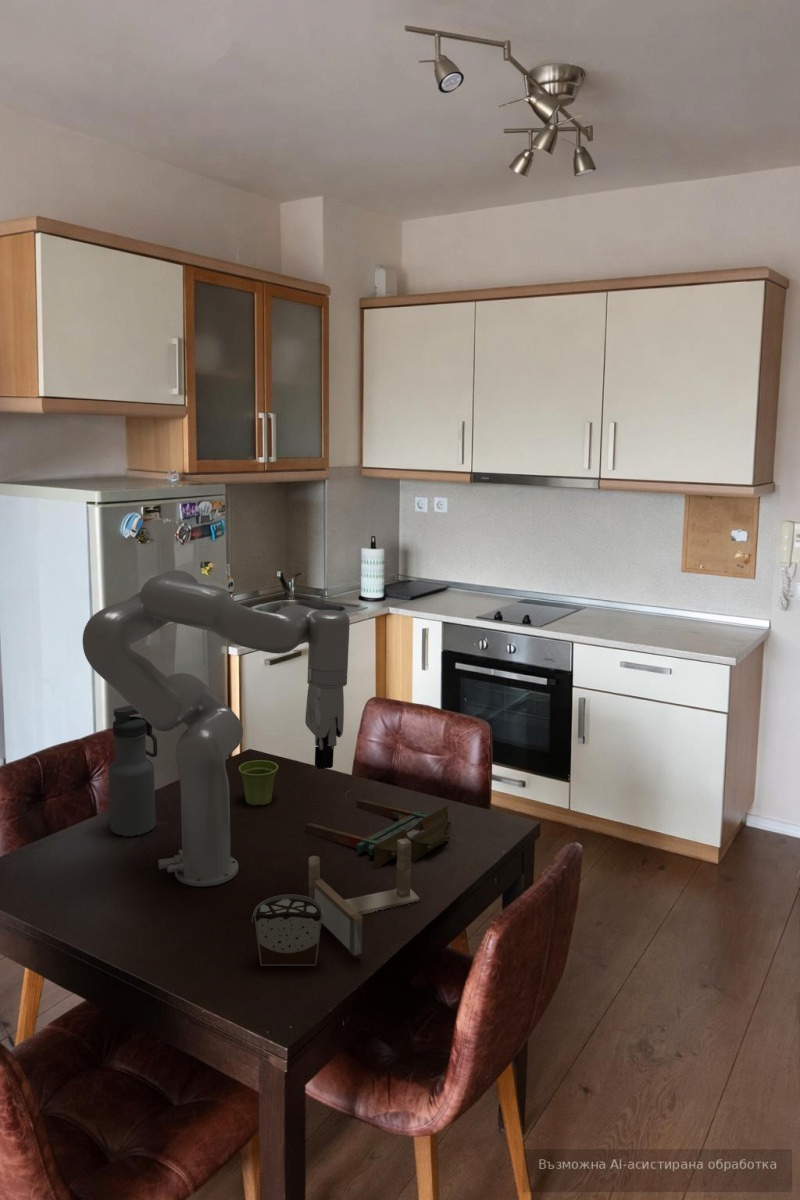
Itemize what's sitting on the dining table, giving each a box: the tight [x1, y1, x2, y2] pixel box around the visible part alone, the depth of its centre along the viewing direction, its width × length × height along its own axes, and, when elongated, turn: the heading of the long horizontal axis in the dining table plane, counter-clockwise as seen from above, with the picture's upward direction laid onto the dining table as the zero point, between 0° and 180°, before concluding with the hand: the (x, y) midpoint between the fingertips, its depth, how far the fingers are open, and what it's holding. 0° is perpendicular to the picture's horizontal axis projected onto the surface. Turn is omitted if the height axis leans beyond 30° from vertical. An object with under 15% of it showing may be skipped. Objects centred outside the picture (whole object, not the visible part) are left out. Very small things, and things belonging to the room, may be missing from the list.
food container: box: [250, 893, 325, 967], centre depth 157 cm, size 12×6×10 cm, turn 92°
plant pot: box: [238, 759, 279, 806], centre depth 222 cm, size 9×9×9 cm
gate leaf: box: [313, 878, 364, 957], centre depth 162 cm, size 15×2×7 cm, turn 32°
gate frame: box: [308, 838, 421, 925], centre depth 173 cm, size 24×5×12 cm, turn 115°
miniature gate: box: [305, 798, 452, 869], centre depth 205 cm, size 27×6×30 cm
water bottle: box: [107, 704, 158, 837], centre depth 204 cm, size 10×10×28 cm
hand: (323, 766), depth 178 cm, fingers closed
